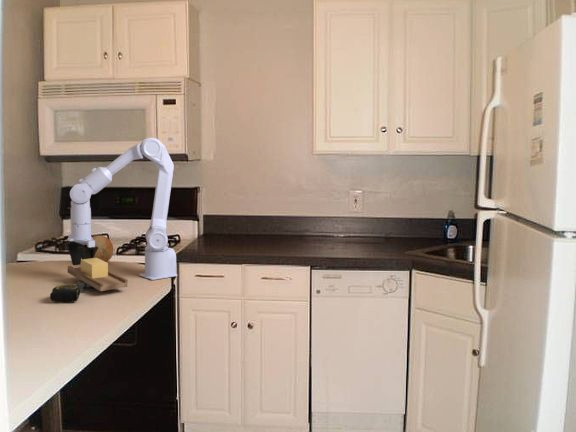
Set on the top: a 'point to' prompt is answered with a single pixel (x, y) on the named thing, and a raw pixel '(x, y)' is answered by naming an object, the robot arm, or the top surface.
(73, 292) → the tape measure
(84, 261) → the block
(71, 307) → the top surface
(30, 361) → the top surface
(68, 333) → the top surface
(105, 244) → the onion
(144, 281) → the top surface
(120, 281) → the beam
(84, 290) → the pivot stand
